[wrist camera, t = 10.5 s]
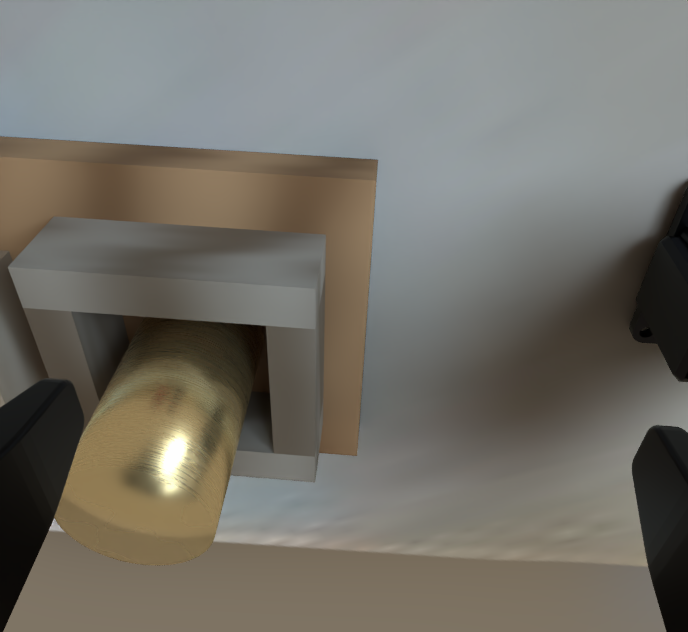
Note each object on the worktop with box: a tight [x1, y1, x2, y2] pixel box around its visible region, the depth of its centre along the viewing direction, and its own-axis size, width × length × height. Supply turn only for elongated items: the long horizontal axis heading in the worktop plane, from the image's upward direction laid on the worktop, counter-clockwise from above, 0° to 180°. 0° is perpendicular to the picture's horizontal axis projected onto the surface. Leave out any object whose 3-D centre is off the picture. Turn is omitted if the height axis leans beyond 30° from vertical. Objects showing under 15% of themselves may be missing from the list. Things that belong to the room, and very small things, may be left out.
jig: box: [0, 137, 378, 482], centre depth 22 cm, size 18×13×4 cm
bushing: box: [54, 317, 264, 565], centre depth 19 cm, size 4×4×8 cm
